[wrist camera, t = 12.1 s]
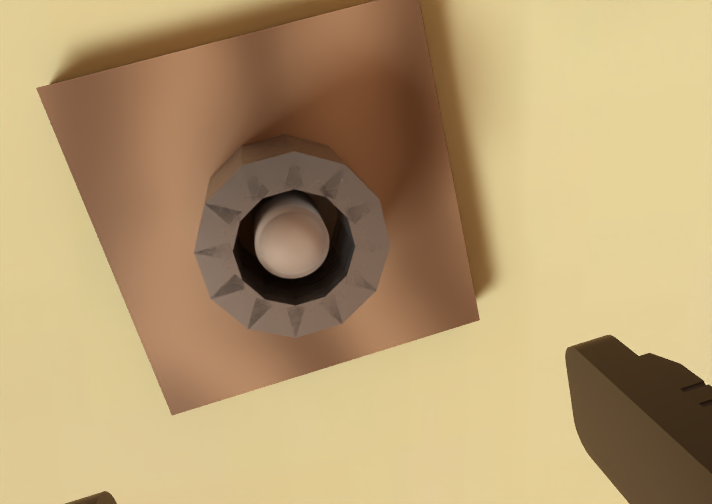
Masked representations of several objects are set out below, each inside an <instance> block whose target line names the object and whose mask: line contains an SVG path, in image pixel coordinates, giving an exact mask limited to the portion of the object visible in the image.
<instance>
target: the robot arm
mask: <svg viewBox="0 0 712 504" xmlns="http://www.w3.org/2000/svg"><path fill="white" fill-rule="evenodd" d="M565 358H566V367H567V374H568V381H569V388H570V395H571V402H572V409H573V416H574V422H575V426H576V430H577V433H578V435H579V438H580V440H581V442H582V444H583V446H584V448H585V450H586V451H587V453H588V454H589V456H590V457H591V458H592V459H593V461H594V462H595V463H596V464H597V465H598V467H599V468H600V469H601V470H602V471H603V473H604V474H605V475H606V476H607V477H608V478H609V480H610V481H611V482H612V483H613V484H614V486H615V487H616V488H617V489H618V490H619V492H620V493H621V494H622V495H623V496H624V497H625V499H626V500H627V501H628V502H629V503H630V504H712V387H711V386H710V385H705V383H704V381H703V380H702V379H701V378H699V377H698V376H696V375H695V374H694V373H692V372H691V371H690V370H688V369H687V368H686V367H684V366H683V365H681V364H679V363H677V362H674V361H671V360H668V359H665V358H663V357H660V356H657V355H654V354H651V353H648V354H644V355H641V356H638V355H637V354H635V353H634V352H633V351H632V350H630V349H629V348H628V347H626V346H625V345H624V344H623V343H621V342H620V341H619V340H618V339H616V338H615V337H613V336H611V335H606V336H603V337H600V338H596V339H593V340H590V341H587V342H584V343H580V344H577V345H574V346H571V347H568V348H567V350H566V354H565ZM66 504H117V503H116V501H115V499H114V498H113V496H112V495H111V494H110V493H108V492H106V491H104V492H101V493H98V494H95V495H91V496H88V497H85V498H82V499H79V500H75V501H72V502H69V503H66Z"/></svg>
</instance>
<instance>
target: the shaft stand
mask: <svg viewBox="0 0 712 504" xmlns="http://www.w3.org/2000/svg"><path fill="white" fill-rule="evenodd" d="M36 89H37V91H38V94H39V96H40V98H41V101H42V103H43V106H44V108H45V110H46V113H47V115H48V118H49V120H50V122H51V125H52V127H53V130H54V132H55V134H56V137H57V139H58V142H59V144H60V147H61V149H62V151H63V154H64V156H65V159H66V161H67V163H68V166H69V168H70V171H71V173H72V175H73V178H74V180H75V183H76V185H77V187H78V190H79V192H80V195H81V197H82V200H83V202H84V204H85V207H86V209H87V212H88V214H89V216H90V219H91V221H92V224H93V226H94V228H95V231H96V233H97V236H98V238H99V241H100V243H101V245H102V248H103V250H104V253H105V255H106V257H107V260H108V262H109V265H110V267H111V269H112V272H113V274H114V277H115V279H116V281H117V284H118V286H119V289H120V291H121V294H122V296H123V298H124V301H125V303H126V306H127V308H128V310H129V313H130V315H131V318H132V320H133V322H134V325H135V327H136V330H137V332H138V334H139V337H140V339H141V342H142V344H143V347H144V349H145V351H146V354H147V356H148V359H149V361H150V363H151V366H152V368H153V371H154V373H155V375H156V378H157V380H158V383H159V385H160V387H161V390H162V392H163V395H164V397H165V400H166V402H167V404H168V407H169V409H170V412H171V414H172V415H175V414H178V413H181V412H184V411H188V410H191V409H194V408H197V407H201V406H204V405H207V404H210V403H214V402H217V401H220V400H223V399H226V398H230V397H233V396H236V395H239V394H243V393H246V392H249V391H252V390H255V389H259V388H262V387H265V386H268V385H272V384H275V383H278V382H281V381H285V380H288V379H291V378H294V377H297V376H301V375H304V374H307V373H310V372H314V371H317V370H320V369H323V368H326V367H330V366H333V365H336V364H339V363H343V362H346V361H349V360H352V359H356V358H359V357H362V356H365V355H368V354H372V353H375V352H378V351H381V350H385V349H388V348H391V347H394V346H397V345H401V344H404V343H407V342H410V341H414V340H417V339H420V338H423V337H426V336H430V335H433V334H436V333H439V332H443V331H446V330H449V329H452V328H456V327H459V326H462V325H465V324H468V323H472V322H475V321H478V320H480V319H479V314H478V309H477V303H476V298H475V293H474V287H473V282H472V277H471V272H470V266H469V261H468V256H467V251H466V245H465V240H464V235H463V229H462V224H461V219H460V214H459V208H458V203H457V198H456V192H455V187H454V182H453V177H452V171H451V166H450V161H449V155H448V150H447V145H446V140H445V134H444V129H443V124H442V119H441V113H440V108H439V103H438V97H437V92H436V87H435V82H434V76H433V71H432V66H431V60H430V55H429V50H428V45H427V39H426V34H425V29H424V23H423V18H422V13H421V8H420V2H419V0H376V1H372V2H368V3H364V4H360V5H356V6H352V7H348V8H345V9H341V10H337V11H333V12H329V13H325V14H321V15H317V16H314V17H310V18H306V19H302V20H298V21H294V22H290V23H286V24H283V25H279V26H275V27H271V28H267V29H263V30H259V31H255V32H252V33H248V34H244V35H240V36H236V37H232V38H228V39H224V40H221V41H217V42H213V43H209V44H205V45H201V46H197V47H193V48H190V49H186V50H182V51H178V52H174V53H170V54H166V55H162V56H159V57H155V58H151V59H147V60H143V61H139V62H135V63H131V64H128V65H124V66H120V67H116V68H112V69H108V70H104V71H100V72H97V73H93V74H89V75H85V76H81V77H77V78H73V79H69V80H66V81H62V82H58V83H54V84H50V85H46V86H42V87H38V88H36ZM282 134H288V135H292V136H295V137H299V138H303V139H307V140H311V141H314V142H318V143H322V144H326V145H329V147H330V148H331V149H332V150H333V151H334V152H335V153H336V154H337V155H338V156H339V157H340V158H341V159H342V160H343V161H344V162H345V163H346V164H347V165H348V166H349V167H350V168H351V169H352V170H353V171H354V172H355V173H356V174H357V175H358V176H359V177H360V178H361V179H362V180H363V181H364V182H365V184H366V185H367V186H368V187H369V188H370V189H371V190H372V191H373V192H374V194H375V195H376V196H377V197H378V198H379V199H380V203H381V207H382V212H383V216H384V220H385V224H386V229H387V233H388V237H389V241H390V245H391V246H390V249H389V252H388V256H387V259H386V262H385V265H384V268H383V272H382V275H381V278H380V281H379V284H378V288H377V291H376V292H375V293H374V294H373V295H372V296H371V297H369V298H368V299H367V300H366V301H365V302H364V303H363V304H362V305H361V306H360V307H359V308H358V309H357V310H356V311H355V312H354V313H353V314H352V315H351V316H350V317H349V318H348V319H347V320H346V321H345V322H344V323H343V324H340V325H337V326H333V327H330V328H327V329H324V330H320V331H317V332H314V333H310V334H307V335H304V336H301V337H297V338H294V337H288V336H283V335H277V334H271V333H266V332H260V331H255V330H249V329H247V328H246V327H245V326H243V325H242V324H241V323H240V322H239V321H237V320H236V319H235V318H234V317H232V316H231V315H230V314H229V313H227V312H226V311H225V310H224V309H223V308H221V307H220V306H219V305H218V304H216V303H215V302H214V301H213V300H211V299H210V296H209V293H208V290H207V287H206V285H205V282H204V279H203V276H202V273H201V271H200V268H199V265H198V262H197V260H196V257H195V254H194V250H195V245H196V240H197V235H198V229H199V224H200V220H201V216H202V211H203V207H204V202H205V198H206V193H207V189H208V184H209V179H210V177H211V176H212V175H213V174H214V173H215V172H216V171H217V170H218V169H219V168H220V167H221V166H222V165H223V164H224V163H225V162H226V161H227V160H228V159H229V158H230V157H231V156H232V155H233V154H234V153H235V152H236V150H237V149H238V148H239V147H240V146H242V145H246V144H249V143H253V142H257V141H260V140H264V139H267V138H271V137H275V136H278V135H282ZM337 217H338V216H337V212H336V208H335V205H334V204H333V203H332V202H331V201H330V200H329V199H328V198H326V197H325V196H320V195H316V194H312V193H308V192H304V191H300V190H296V189H293V190H290V191H286V192H283V193H279V194H276V195H272V196H269V197H265V198H262V199H261V200H260V201H259V202H258V203H257V204H256V205H255V206H254V207H253V209H252V210H251V211H250V212H249V213H248V214H247V215H246V216H245V217H244V218H243V219H242V220H241V221H240V223H239V227H238V231H237V233H238V236H239V239H240V242H241V244H242V245H243V246H244V247H245V248H246V249H247V250H249V251H250V252H251V253H252V254H253V255H254V256H255V257H257V258H258V259H259V261H260V263H261V264H262V265H263V267H264V268H265V269H266V270H268V271H269V272H270V273H272V274H274V275H276V276H278V277H282V278H288V279H294V278H300V277H304V276H307V275H309V274H311V273H312V272H314V271H315V270H316V269H317V268H319V266H320V265H321V264H322V263H323V261H324V260H325V258H326V256H327V253H328V250H329V242H330V241H331V238H332V235H333V231H334V228H335V224H336V220H337Z"/></svg>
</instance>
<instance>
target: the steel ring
mask: <svg viewBox="0 0 712 504" xmlns="http://www.w3.org/2000/svg"><path fill="white" fill-rule="evenodd" d="M293 189H296V190H300V191H304V192H308V193H312V194H316V195H320V196H325V197H326V198H328V199H329V200H330V201H331V202H332V203H333V204H334V205H335V208H336V212H337V216H338V217H337V220H336V224H335V228H334V231H333V235H332V238H331V241H330V242H329V250H328V253H327V256H326V258H325V260H324V261H323V263H322V264H321V265H320V266H319V268H317V269H316V270H315V271H314V272H312V273H311V274H309V275H307V276H304V277H300V278H294V279H288V278H282V277H278V276H276V275H274V274H272V273H270V272H269V271H268V270H266V269H265V268H264V267H263V265H262V264H261V263H260V261H259V259H258V258H257V257H255V256H254V255H253V254H252V253H251V252H250V251H249V250H247V249H246V248H245V247H244V246H243V245H242V244H241V242H240V239H239V236H238V233H237V231H238V227H239V223H240V221H241V220H242V219H243V218H244V217H245V216H246V215H247V214H248V213H249V212H250V211H251V210H252V209H253V207H254V206H255V205H256V204H257V203H258V202H259V201H260V200H261V199H262V198H265V197H269V196H272V195H276V194H279V193H283V192H286V191H290V190H293ZM390 246H391V245H390V241H389V237H388V233H387V229H386V224H385V220H384V216H383V212H382V207H381V203H380V199H379V198H378V197H377V196H376V195H375V194H374V192H373V191H372V190H371V189H370V188H369V187H368V186H367V185H366V184H365V182H364V181H363V180H362V179H361V178H360V177H359V176H358V175H357V174H356V173H355V172H354V171H353V170H352V169H351V168H350V167H349V166H348V165H347V164H346V163H345V162H344V161H343V160H342V159H341V158H340V157H339V156H338V155H337V154H336V153H335V152H334V151H333V150H332V149H331V148H330V147H329V145H326V144H322V143H318V142H314V141H311V140H307V139H303V138H299V137H295V136H292V135H288V134H282V135H278V136H275V137H271V138H267V139H264V140H260V141H257V142H253V143H249V144H246V145H242V146H240V147H239V148H238V149H237V150H236V152H235V153H234V154H233V155H232V156H231V157H230V158H229V159H228V160H227V161H226V162H225V163H224V164H223V165H222V166H221V167H220V168H219V169H218V170H217V171H216V172H215V173H214V174H213V175H212V176H211V177H210V179H209V184H208V189H207V193H206V198H205V202H204V207H203V211H202V216H201V220H200V224H199V229H198V235H197V240H196V245H195V250H194V254H195V257H196V260H197V262H198V265H199V268H200V271H201V273H202V276H203V279H204V282H205V285H206V287H207V290H208V293H209V296H210V299H211V300H213V301H214V302H215V303H216V304H218V305H219V306H220V307H221V308H223V309H224V310H225V311H226V312H227V313H229V314H230V315H231V316H232V317H234V318H235V319H236V320H237V321H239V322H240V323H241V324H242V325H243V326H245V327H246V328H247V329H249V330H255V331H260V332H266V333H271V334H277V335H283V336H288V337H294V338H297V337H301V336H304V335H307V334H310V333H314V332H317V331H320V330H324V329H327V328H330V327H333V326H337V325H340V324H343V323H344V322H345V321H346V320H347V319H348V318H349V317H350V316H351V315H352V314H353V313H354V312H355V311H356V310H357V309H358V308H359V307H360V306H361V305H362V304H363V303H364V302H365V301H366V300H367V299H368V298H369V297H371V296H372V295H373V294H374V293H375V292H376V291H377V288H378V284H379V281H380V278H381V275H382V272H383V268H384V265H385V262H386V259H387V256H388V252H389V249H390Z"/></svg>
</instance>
